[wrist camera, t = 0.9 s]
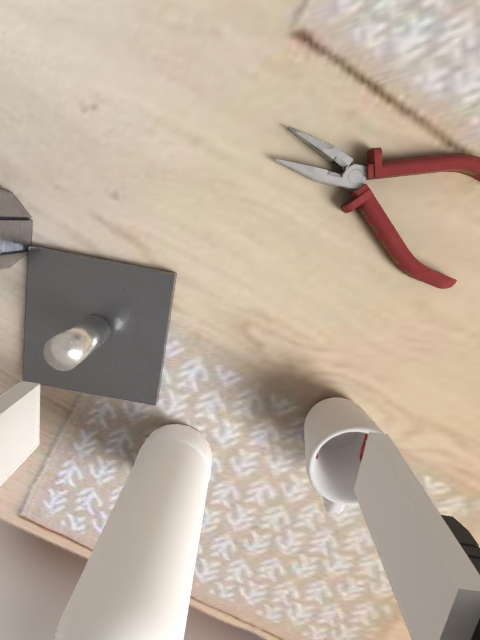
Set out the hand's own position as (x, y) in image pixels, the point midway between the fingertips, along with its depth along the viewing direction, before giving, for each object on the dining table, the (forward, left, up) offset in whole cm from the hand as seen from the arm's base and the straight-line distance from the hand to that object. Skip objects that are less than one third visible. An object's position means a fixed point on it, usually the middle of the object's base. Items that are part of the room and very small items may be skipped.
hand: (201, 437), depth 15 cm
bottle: (+18, -3, -24) cm, 30 cm away
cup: (+12, +13, -24) cm, 29 cm away
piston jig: (+5, -13, -24) cm, 27 cm away
